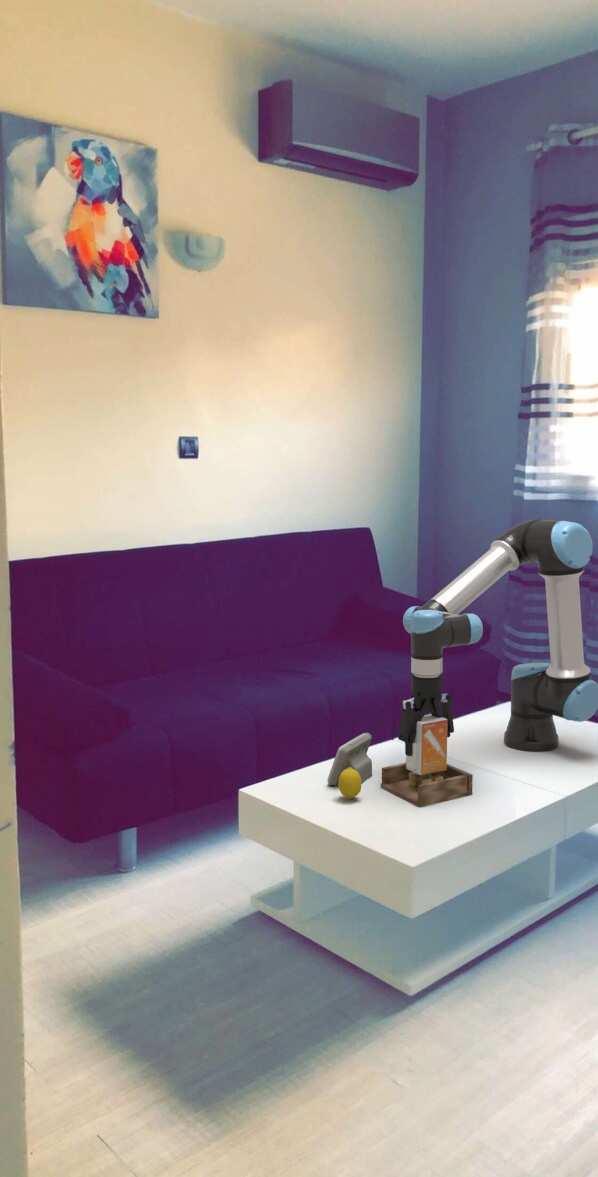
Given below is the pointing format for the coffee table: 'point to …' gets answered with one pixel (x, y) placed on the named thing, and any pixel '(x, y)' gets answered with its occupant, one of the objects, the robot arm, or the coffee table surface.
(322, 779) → the coffee table surface
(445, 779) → the peg frame
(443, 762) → the small box
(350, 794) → the lemon
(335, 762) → the digital clock
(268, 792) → the coffee table surface
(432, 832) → the coffee table surface
